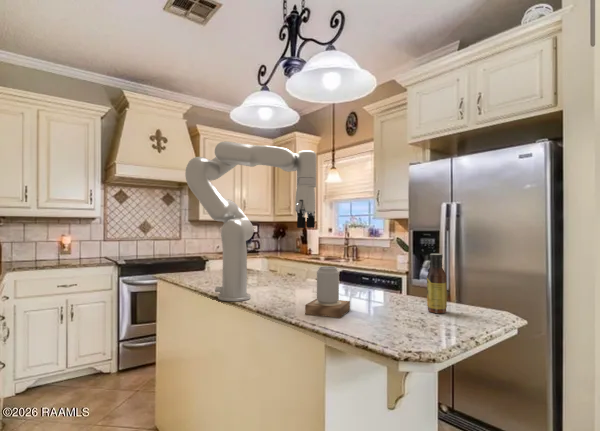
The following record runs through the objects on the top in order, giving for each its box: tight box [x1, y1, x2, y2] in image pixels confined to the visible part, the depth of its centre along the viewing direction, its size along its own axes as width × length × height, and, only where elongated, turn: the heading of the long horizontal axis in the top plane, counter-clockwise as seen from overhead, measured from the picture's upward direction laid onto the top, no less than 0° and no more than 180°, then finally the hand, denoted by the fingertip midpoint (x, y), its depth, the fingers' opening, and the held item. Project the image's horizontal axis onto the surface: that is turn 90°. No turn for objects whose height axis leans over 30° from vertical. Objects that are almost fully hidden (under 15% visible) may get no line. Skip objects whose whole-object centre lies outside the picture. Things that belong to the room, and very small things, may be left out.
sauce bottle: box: [426, 253, 448, 314], centre depth 126 cm, size 7×6×20 cm
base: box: [304, 298, 351, 318], centre depth 125 cm, size 12×12×3 cm
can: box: [316, 265, 340, 304], centre depth 125 cm, size 8×8×12 cm
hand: (306, 227), depth 142 cm, fingers open, 9 cm apart
